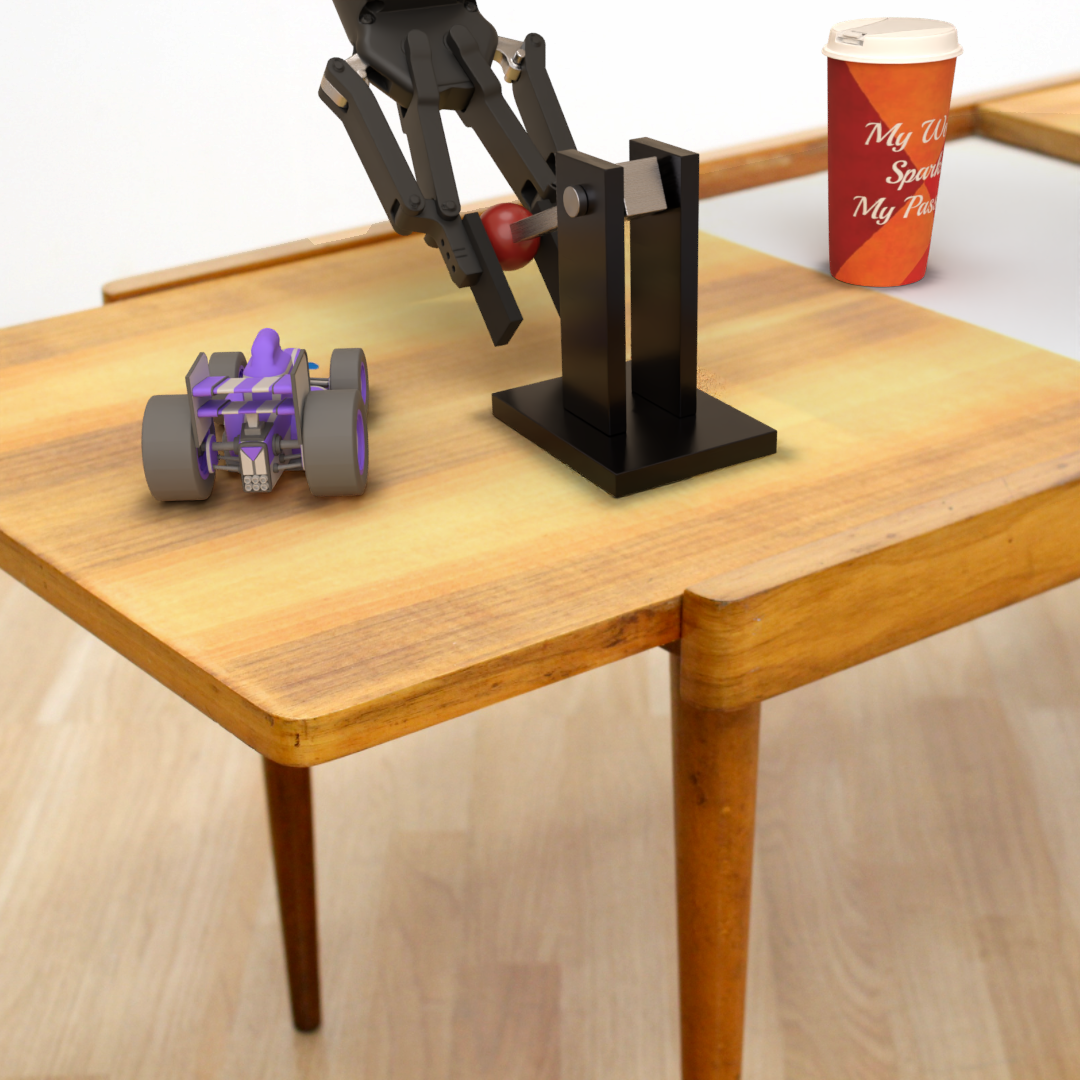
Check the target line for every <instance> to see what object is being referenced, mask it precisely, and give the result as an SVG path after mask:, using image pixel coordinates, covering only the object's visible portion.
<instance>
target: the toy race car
mask: <svg viewBox="0 0 1080 1080" xmlns="http://www.w3.org/2000/svg"><path fill="white" fill-rule="evenodd" d="M280 338H281V337H280V334H279V333H278V332H277V330H275V329H274V328H271V327H264V328H262V329H260V330H259V331H258V333H257V334H256V336H255V338H254V339H253V343H252V345H251V348H250V358H249V359H248V361H247V358H246V356H245V354H244V352H242V351H215V352H212V353H211V355H210V356H209V359H208V356H207V354H206V352H204V351H200V352H199V353H198V355H197V356H196V358H195V359H194V361H193V363H192V365H191V366H190V368H189V369H188V371H187V373H186V375H185V377H184V380H185V387H186V393H181V394H180V393H178V394H176V393H175V394H154V395H152V396H150V398H149V399H148V400H147V402H146V405H145V408H144V412H143V417H142V422H141V437H140V439H141V440H140V444H141V458H142V459H141V460H142V466H143V472H144V478H145V481H146V484H147V487H148V490H149V492H150V494H151V496H152V498H153V499H155V500H156V501H158V502H171V501H172V502H173V501H174V502H175V501H176V502H177V501H204V500H207V499H208V498H209V497H210V496H211V495H212V491H213V489H214V484H215V480H216V475H217V473H216V472H217V470H222V471H227V472H229V473H238V474H239V475H240V479H241V484H242V485H241V486H242V491H243V493H244V494H257V493H258V494H259V493H261V494H262V493H271V492H272V491H273V489H275V486H276V484H277V483H278V481H279V480H280V479H281V476H282V475H283V473H284V472H293V471H296V472H297V471H299V472H300V471H304V474H305V479H306V482H307V486H308V488H309V489H308V490H309V491H310V493H311V494H312V496H313V497H348V496H349V497H351V496H362V495H363V494H364V493H365V490H366V488H367V483H368V477H369V476H368V475H369V463H370V462H369V458H370V457H369V455H370V447H369V444H370V443H369V428H368V427H369V426H368V417H367V416H368V411H369V404H370V402H369V401H370V383H369V369H368V361H367V357H366V354H365V351H364V349H363V348H362V347H341V348H339V347H338V348H334V349H332V352H331V356H330V361H329V375H328V376H329V377H328V378H327V377H311V375H310V371H315V370H318V369H320V365H319V364H318V363H317V362H315V361H309V355H308V352H307V350H306V349H305V348H299V347H287V348H283V349H282V347H281V344H280V343H281V342H280V341H281V339H280ZM215 424H216V425H219V426H221V425H222V426H223V427H224V431H223V433H222V436H221V441H217V434H216V427H215V426H216V425H215ZM219 452H223V455H221V453H220V454H219ZM221 460H224V462H225V465H221V464H220V465H219V461H221Z"/></svg>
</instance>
